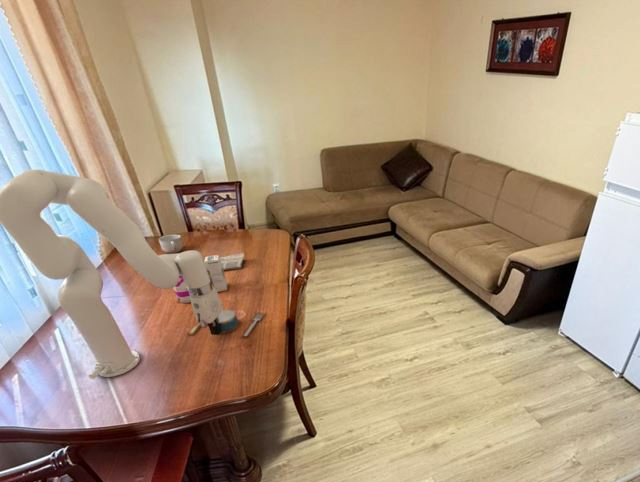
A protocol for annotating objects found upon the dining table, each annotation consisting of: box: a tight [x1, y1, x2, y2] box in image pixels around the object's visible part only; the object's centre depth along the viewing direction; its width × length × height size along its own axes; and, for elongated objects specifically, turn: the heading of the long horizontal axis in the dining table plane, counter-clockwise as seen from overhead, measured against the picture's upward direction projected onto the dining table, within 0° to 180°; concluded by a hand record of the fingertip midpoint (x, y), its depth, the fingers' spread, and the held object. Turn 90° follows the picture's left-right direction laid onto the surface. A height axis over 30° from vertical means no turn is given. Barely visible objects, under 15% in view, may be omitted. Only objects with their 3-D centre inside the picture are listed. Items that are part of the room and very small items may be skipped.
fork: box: [243, 313, 265, 338], centre depth 143 cm, size 14×3×1 cm, turn 172°
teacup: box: [158, 234, 184, 254], centre depth 204 cm, size 14×11×8 cm
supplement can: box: [172, 275, 191, 304], centre depth 159 cm, size 8×8×15 cm
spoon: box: [188, 322, 201, 336], centre depth 146 cm, size 14×4×1 cm, turn 172°
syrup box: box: [204, 254, 228, 293], centre depth 165 cm, size 6×6×14 cm
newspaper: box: [203, 252, 245, 271], centre depth 187 cm, size 35×12×4 cm, turn 101°
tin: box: [218, 309, 239, 335], centre depth 142 cm, size 9×9×5 cm
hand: (216, 333), depth 137 cm, fingers closed
